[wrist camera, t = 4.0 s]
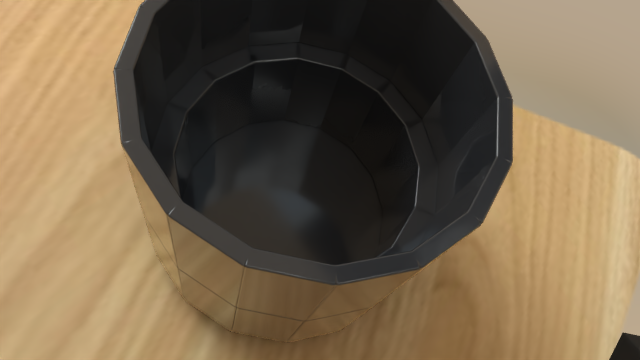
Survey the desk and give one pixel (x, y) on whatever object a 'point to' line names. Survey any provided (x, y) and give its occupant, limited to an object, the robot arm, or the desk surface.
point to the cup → (308, 150)
